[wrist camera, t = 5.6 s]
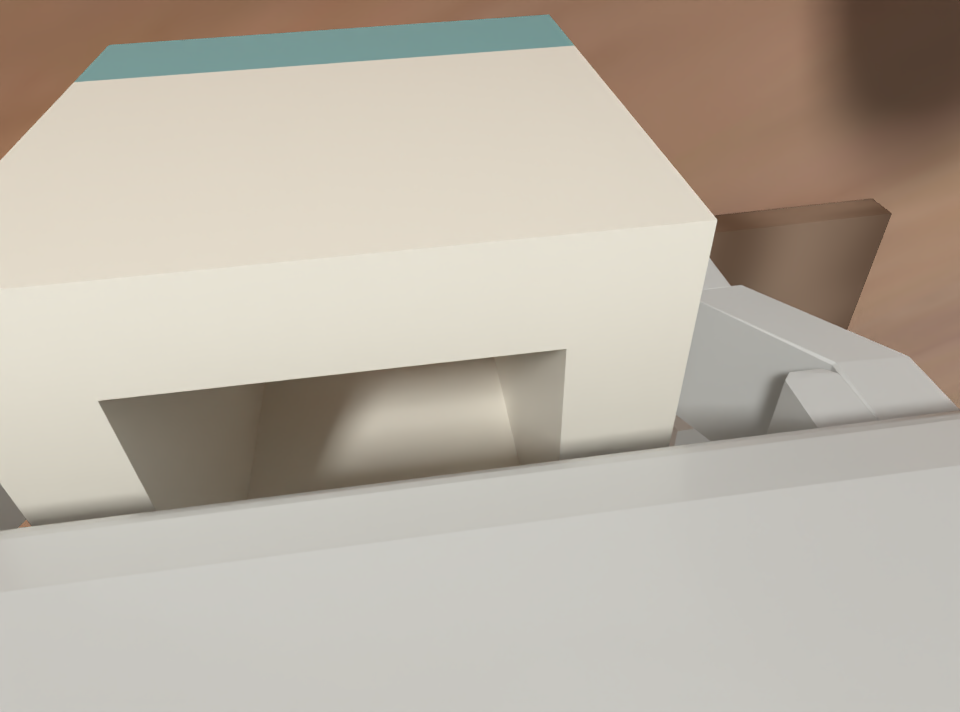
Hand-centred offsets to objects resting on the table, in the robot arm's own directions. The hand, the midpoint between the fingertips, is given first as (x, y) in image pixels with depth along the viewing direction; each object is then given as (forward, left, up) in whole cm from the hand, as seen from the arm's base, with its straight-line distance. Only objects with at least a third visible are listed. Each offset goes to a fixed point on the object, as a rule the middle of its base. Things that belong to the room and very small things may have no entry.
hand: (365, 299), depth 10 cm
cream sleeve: (0, 0, -2) cm, 2 cm away
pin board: (-12, +20, -14) cm, 27 cm away
